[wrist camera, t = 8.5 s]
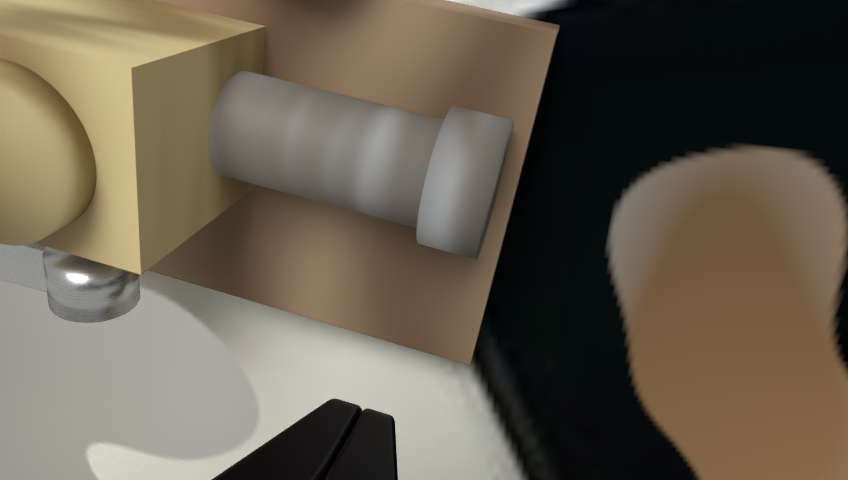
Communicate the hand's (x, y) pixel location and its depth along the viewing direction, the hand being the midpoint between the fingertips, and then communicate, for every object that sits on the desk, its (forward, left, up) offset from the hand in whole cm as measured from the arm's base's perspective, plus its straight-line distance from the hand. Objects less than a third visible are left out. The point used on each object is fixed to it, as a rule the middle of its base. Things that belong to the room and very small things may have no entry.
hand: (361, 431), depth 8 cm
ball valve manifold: (+5, +5, -13) cm, 15 cm away
